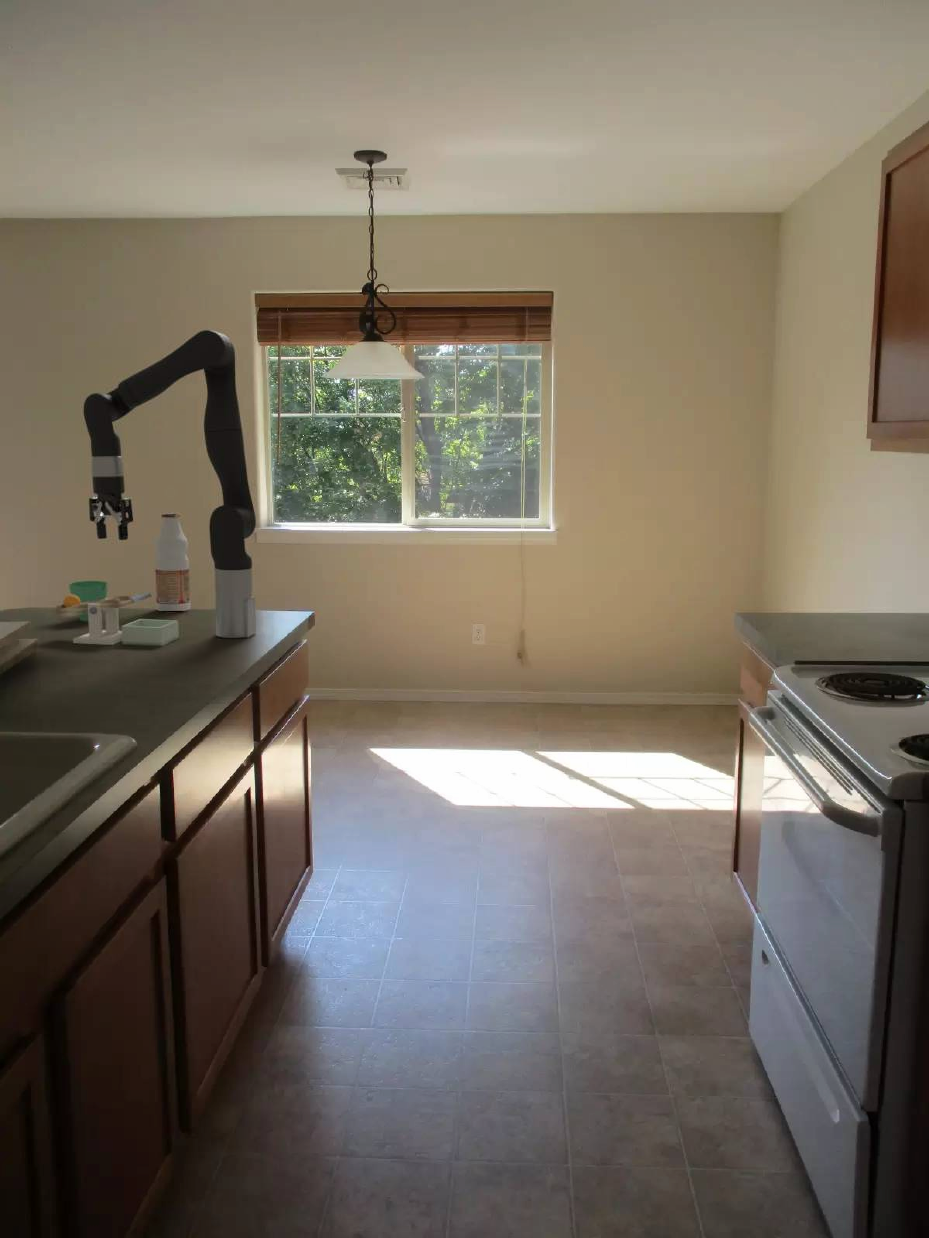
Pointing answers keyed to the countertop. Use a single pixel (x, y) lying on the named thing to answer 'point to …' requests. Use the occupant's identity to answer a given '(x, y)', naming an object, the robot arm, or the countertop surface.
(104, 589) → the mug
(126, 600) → the lever
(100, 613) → the stand
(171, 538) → the fruit juice
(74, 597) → the ball
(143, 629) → the pale green tray
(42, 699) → the countertop surface
